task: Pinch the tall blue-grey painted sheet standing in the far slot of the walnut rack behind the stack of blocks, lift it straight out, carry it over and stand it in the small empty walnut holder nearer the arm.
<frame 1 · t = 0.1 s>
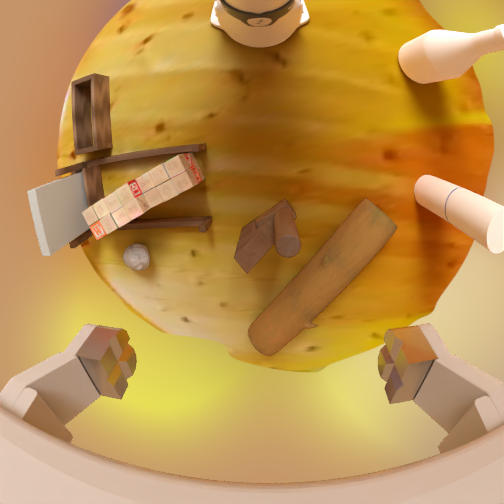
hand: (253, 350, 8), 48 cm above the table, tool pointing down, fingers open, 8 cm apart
stack of blocks: (155, 187, 55), on the table
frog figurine: (144, 250, 61), on the table
brown wedge with rod: (268, 220, 57), on the table
sheet: (95, 194, 56), on the table
log: (314, 271, 61), on the table
rack: (137, 189, 55), on the table
holder: (98, 114, 48), on the table
cylindrical container: (426, 190, 51), on the table
wine bottle: (415, 63, 40), on the table
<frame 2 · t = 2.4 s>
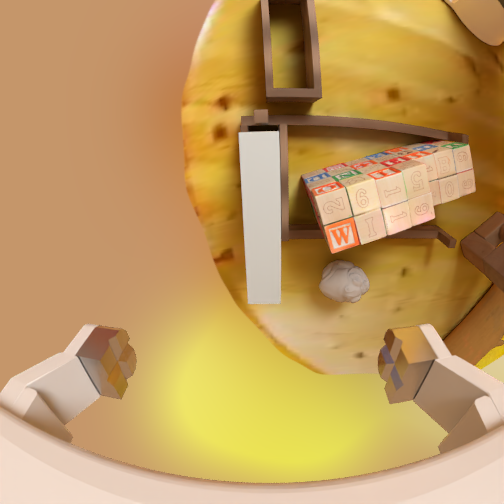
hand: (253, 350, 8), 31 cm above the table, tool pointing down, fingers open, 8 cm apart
stack of blocks: (377, 174, 35), on the table
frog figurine: (336, 268, 42), on the table
brown wedge with rod: (480, 233, 37), on the table
sheet: (265, 176, 36), on the table
log: (494, 286, 42), on the table
rack: (350, 176, 35), on the table
holder: (287, 46, 29), on the table
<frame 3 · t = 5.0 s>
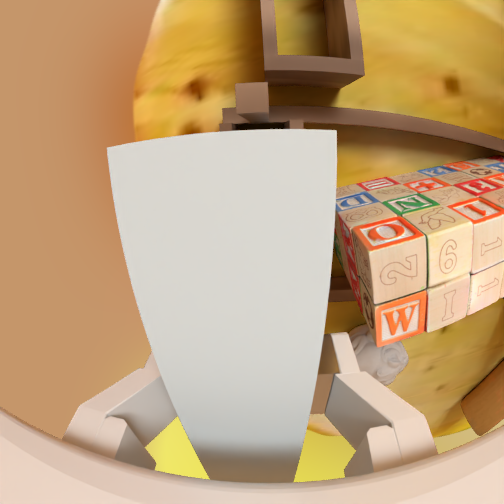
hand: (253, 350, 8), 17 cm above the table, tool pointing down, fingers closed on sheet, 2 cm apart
stack of blocks: (430, 198, 22), on the table
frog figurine: (362, 331, 28), on the table
sheet: (263, 205, 23), on the table, touching gripper
rack: (393, 206, 22), on the table
holder: (297, 3, 16), on the table
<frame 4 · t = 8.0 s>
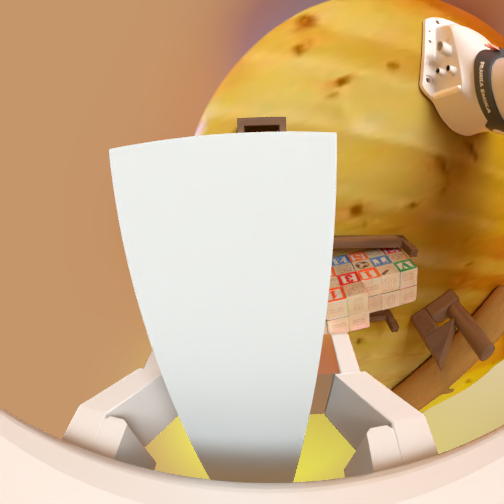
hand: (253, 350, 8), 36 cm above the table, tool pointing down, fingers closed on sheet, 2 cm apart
stack of blocks: (339, 271, 47), on the table
brown wedge with rod: (432, 307, 49), on the table
sheet: (263, 206, 23), point 19 cm above the table, touching gripper
log: (449, 343, 54), on the table
rack: (313, 279, 47), on the table
holder: (264, 173, 41), on the table
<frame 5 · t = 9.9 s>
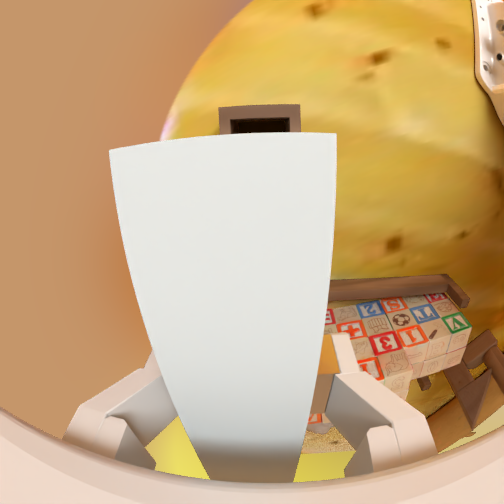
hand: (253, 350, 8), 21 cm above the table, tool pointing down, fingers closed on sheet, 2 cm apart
stack of blocks: (365, 319, 34), on the table
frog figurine: (312, 396, 40), on the table
brown wedge with rod: (465, 349, 36), on the table
sheet: (263, 206, 23), point 5 cm above the table, touching gripper
log: (475, 381, 40), on the table
rack: (330, 333, 34), on the table
holder: (264, 192, 27), on the table
when the fingers open (18 cm above the table, at t = 11.2 s): sheet drops 1 cm, on the table.
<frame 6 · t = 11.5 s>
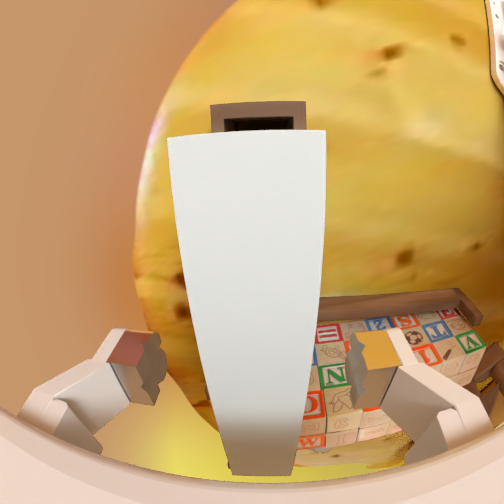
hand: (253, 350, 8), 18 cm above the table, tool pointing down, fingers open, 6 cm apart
stack of blocks: (373, 334, 31), on the table
brown wedge with rod: (472, 363, 33), on the table
sheet: (264, 201, 25), on the table
log: (480, 393, 37), on the table
rack: (333, 351, 31), on the table
holder: (263, 201, 25), on the table
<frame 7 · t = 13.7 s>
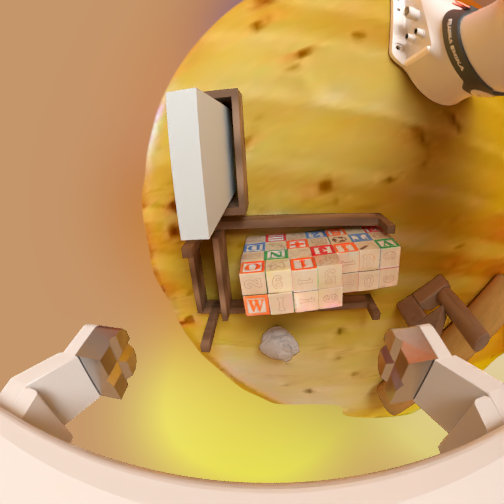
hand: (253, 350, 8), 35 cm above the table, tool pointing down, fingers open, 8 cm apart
stack of blocks: (315, 247, 44), on the table
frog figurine: (278, 330, 51), on the table
brown wedge with rod: (420, 294, 47), on the table
sheet: (225, 150, 39), on the table
log: (443, 335, 51), on the table
rack: (283, 262, 45), on the table
holder: (224, 150, 38), on the table
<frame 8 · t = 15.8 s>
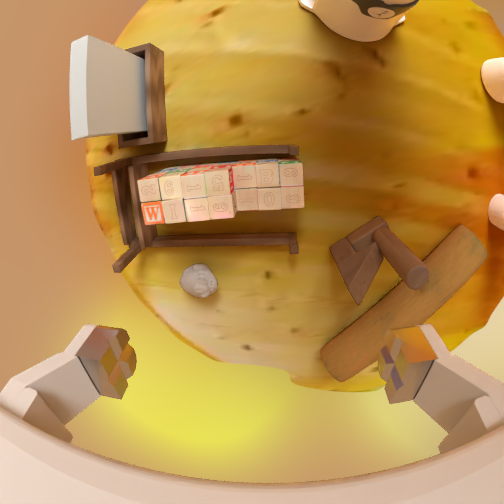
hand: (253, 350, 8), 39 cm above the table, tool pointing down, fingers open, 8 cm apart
stack of blocks: (231, 178, 45), on the table
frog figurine: (203, 270, 52), on the table
brown wedge with rod: (357, 238, 48), on the table
sheet: (148, 97, 39), on the table
log: (397, 293, 52), on the table
rack: (200, 196, 46), on the table
holder: (148, 97, 39), on the table
cylindrical container: (497, 209, 42), on the table
wine bottle: (493, 81, 31), on the table
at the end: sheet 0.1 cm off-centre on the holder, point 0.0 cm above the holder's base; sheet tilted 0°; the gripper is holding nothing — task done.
